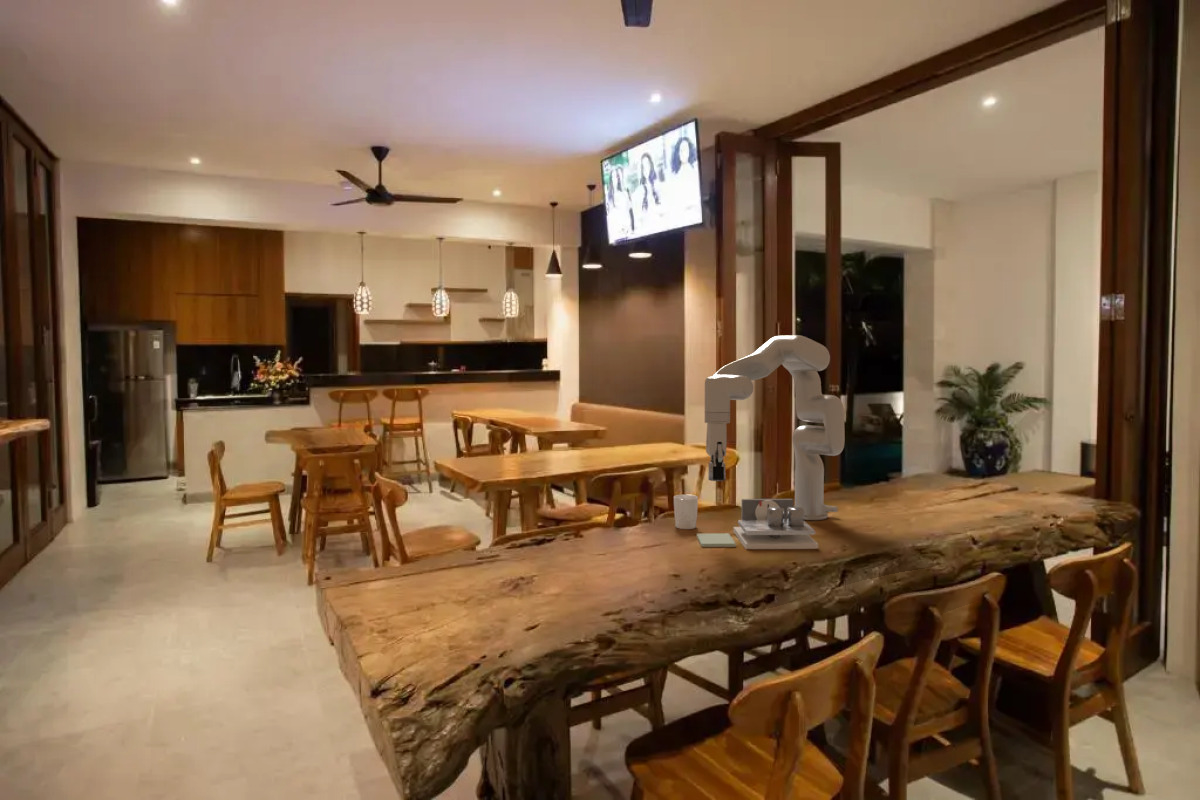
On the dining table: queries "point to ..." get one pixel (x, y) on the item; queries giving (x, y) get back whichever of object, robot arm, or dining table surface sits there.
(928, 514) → the dining table surface
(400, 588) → the dining table surface
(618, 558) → the dining table surface
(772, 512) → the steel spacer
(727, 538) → the green pad
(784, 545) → the scale housing
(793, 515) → the steel spacer
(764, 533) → the scale pan
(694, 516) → the white cup
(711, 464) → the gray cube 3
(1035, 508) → the dining table surface
